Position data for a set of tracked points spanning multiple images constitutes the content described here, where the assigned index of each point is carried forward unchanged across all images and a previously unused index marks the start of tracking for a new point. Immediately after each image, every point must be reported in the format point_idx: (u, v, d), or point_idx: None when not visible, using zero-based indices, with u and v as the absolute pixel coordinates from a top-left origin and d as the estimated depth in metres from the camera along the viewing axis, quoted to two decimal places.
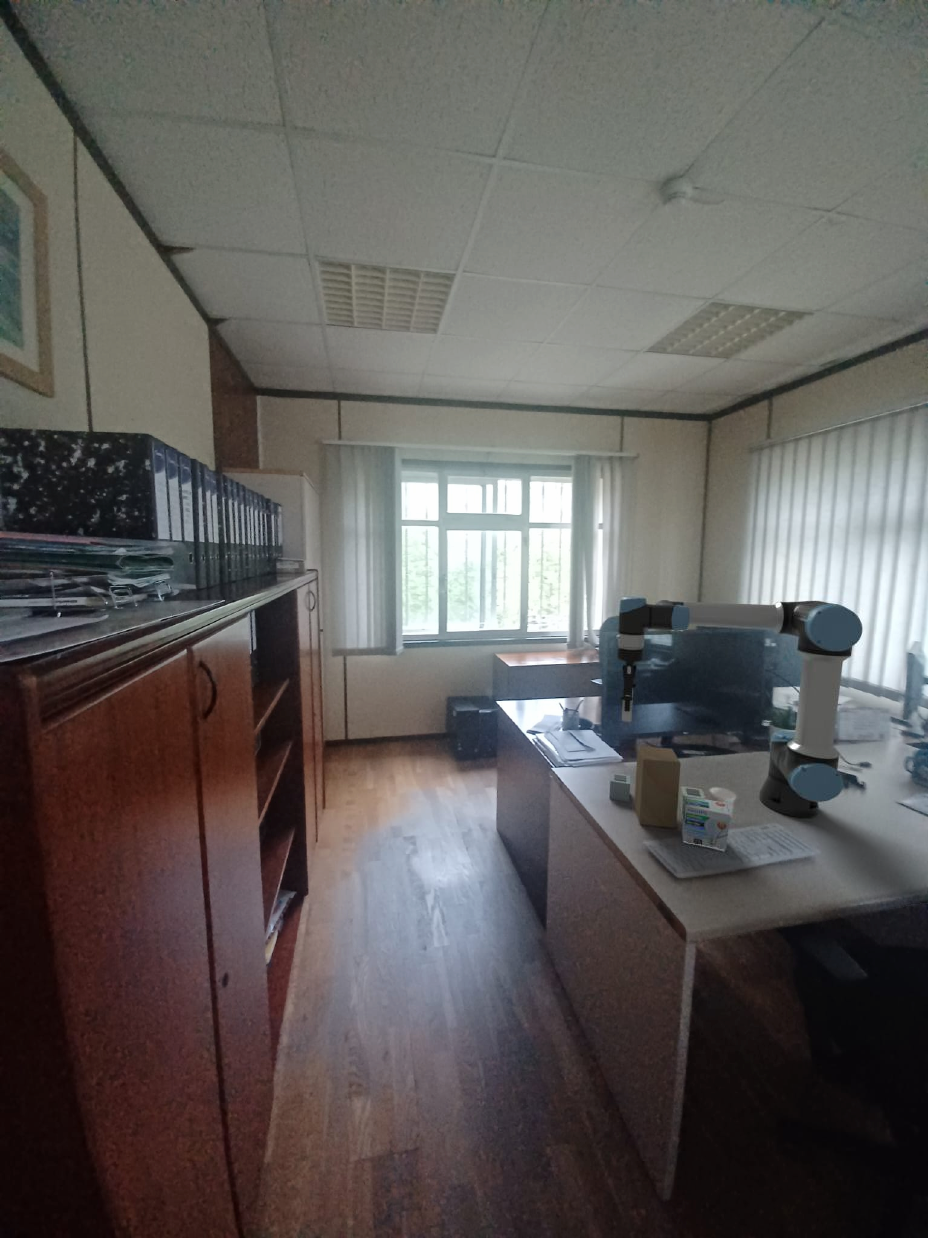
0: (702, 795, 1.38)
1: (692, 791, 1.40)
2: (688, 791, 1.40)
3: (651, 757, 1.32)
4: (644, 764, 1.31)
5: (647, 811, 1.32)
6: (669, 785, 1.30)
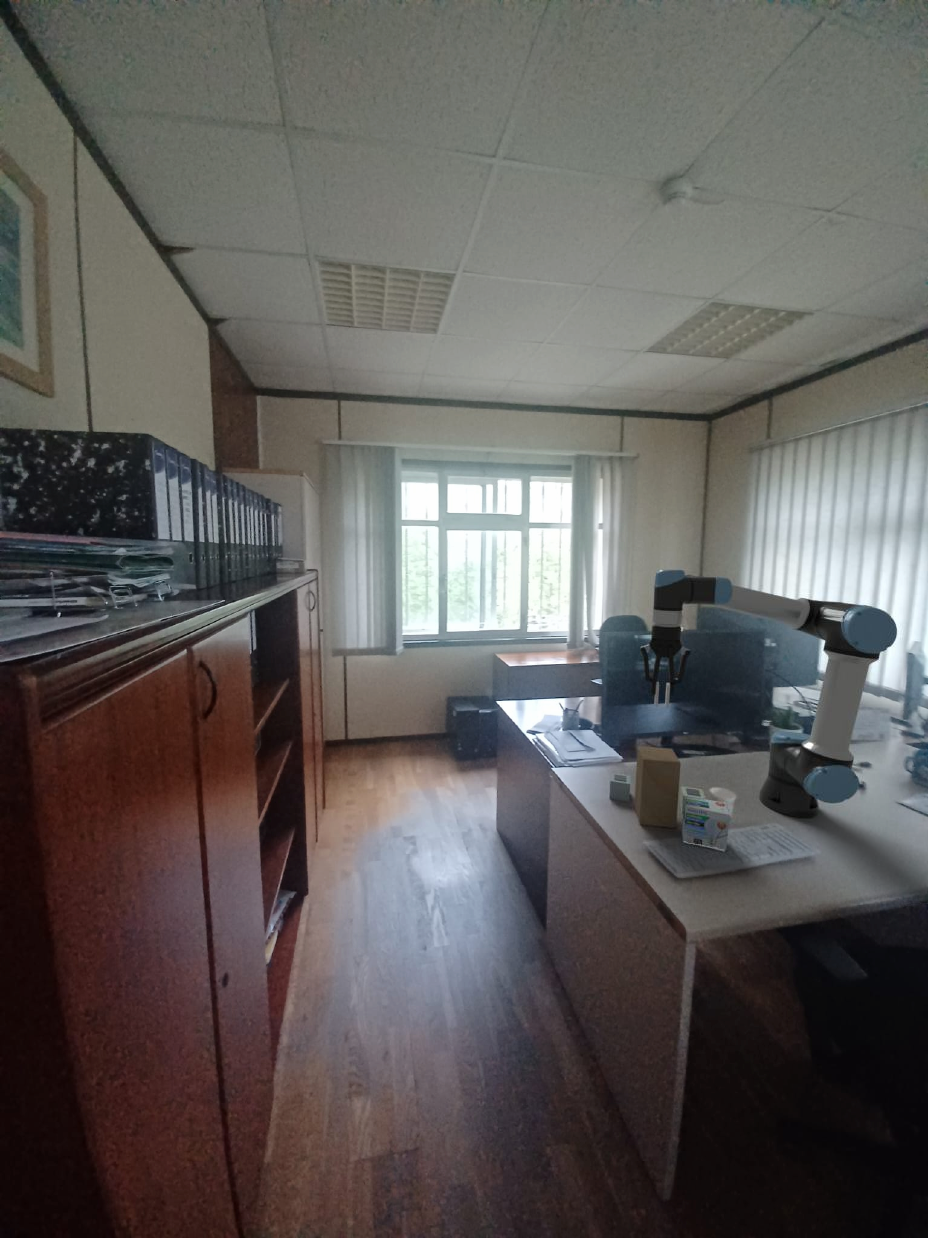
0: (702, 795, 1.38)
1: (692, 791, 1.40)
2: (688, 791, 1.40)
3: (651, 756, 1.32)
4: (644, 764, 1.31)
5: (647, 811, 1.32)
6: (669, 785, 1.30)
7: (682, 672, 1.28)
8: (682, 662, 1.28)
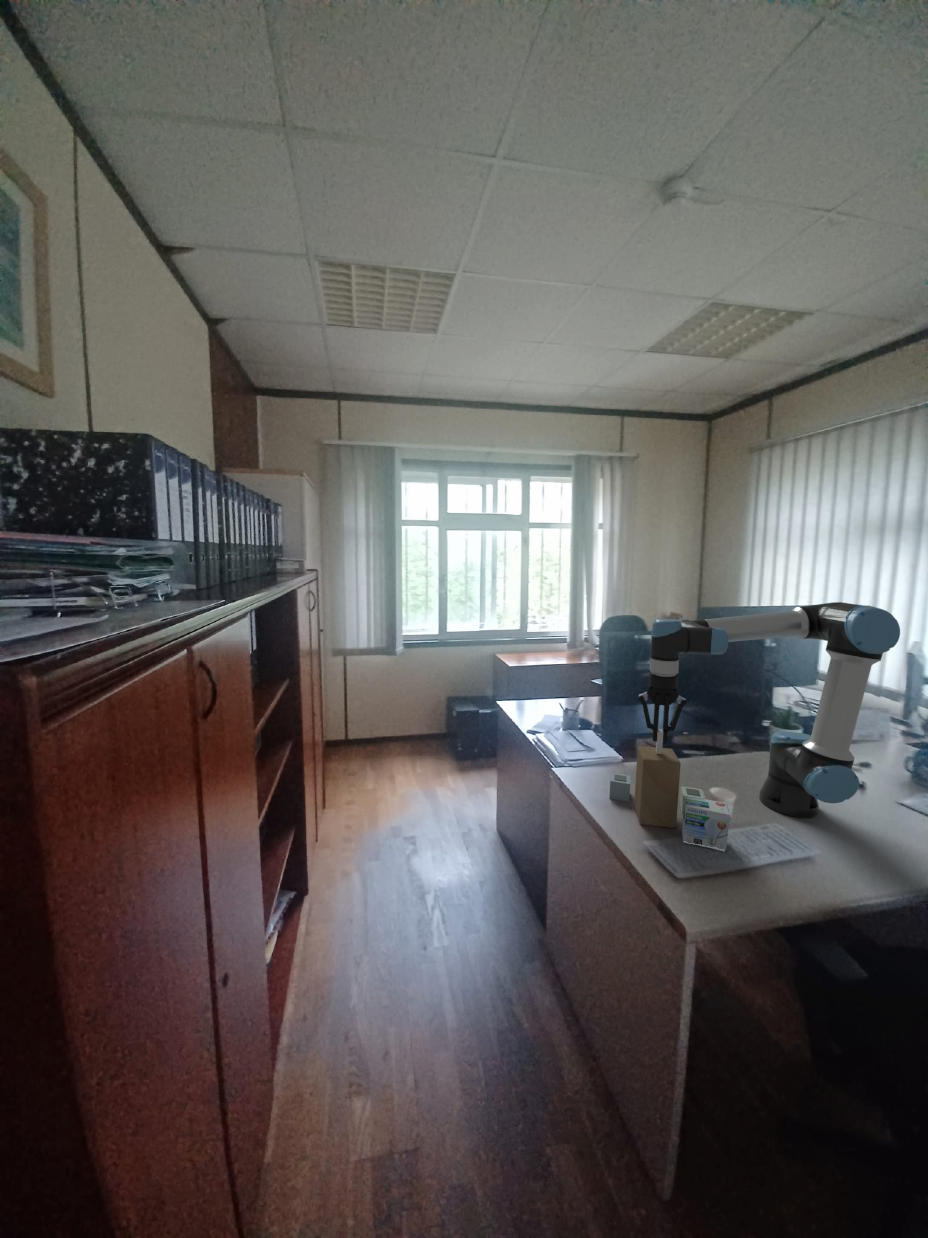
0: (702, 795, 1.38)
1: (692, 791, 1.40)
2: (688, 791, 1.40)
3: (651, 757, 1.32)
4: (644, 764, 1.31)
5: (647, 811, 1.32)
6: (669, 785, 1.30)
7: (676, 720, 1.30)
8: (677, 711, 1.30)
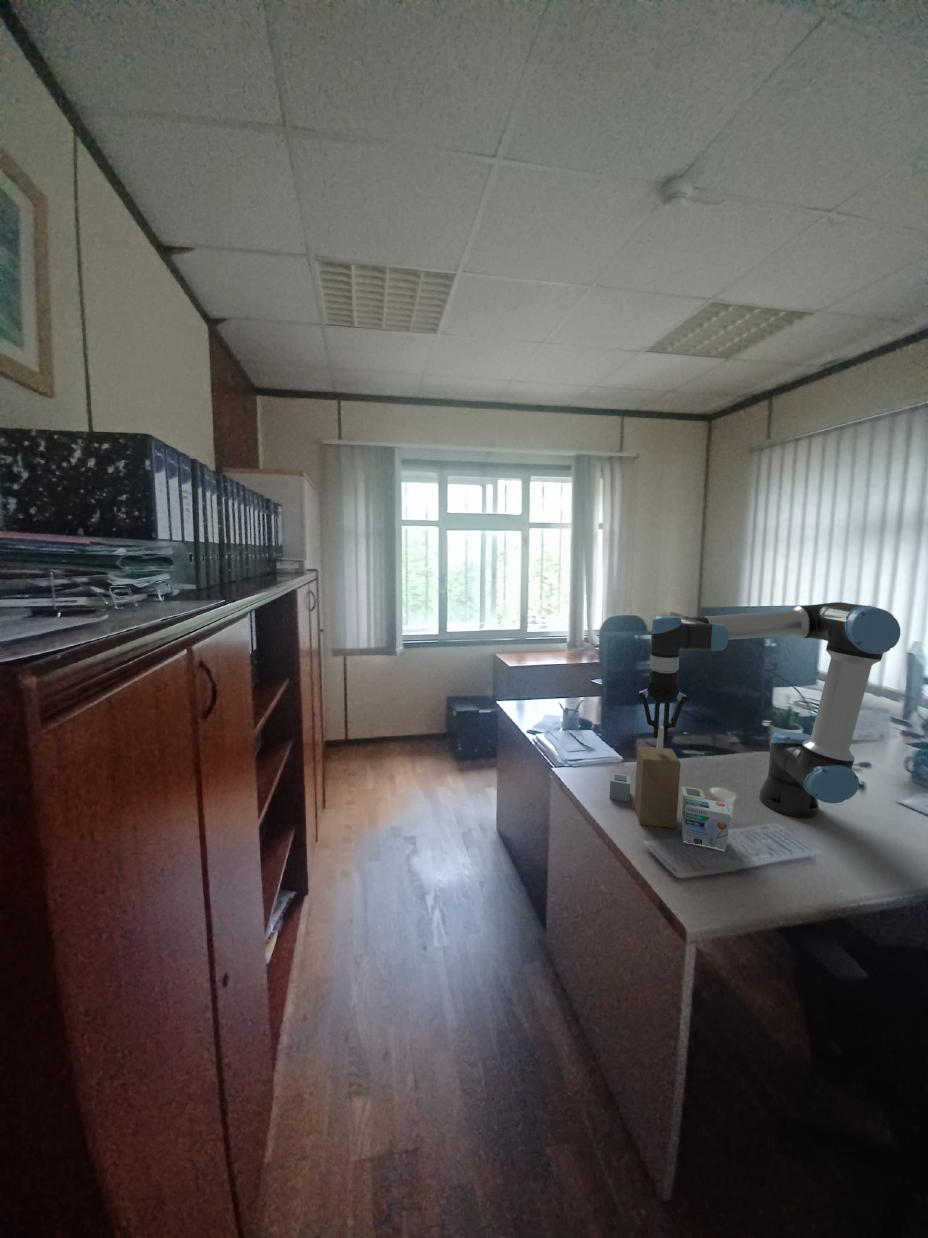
0: (702, 795, 1.38)
1: (692, 791, 1.40)
2: (688, 791, 1.40)
3: (651, 756, 1.32)
4: (644, 764, 1.31)
5: (647, 811, 1.32)
6: (669, 785, 1.30)
7: (676, 717, 1.30)
8: (678, 707, 1.30)
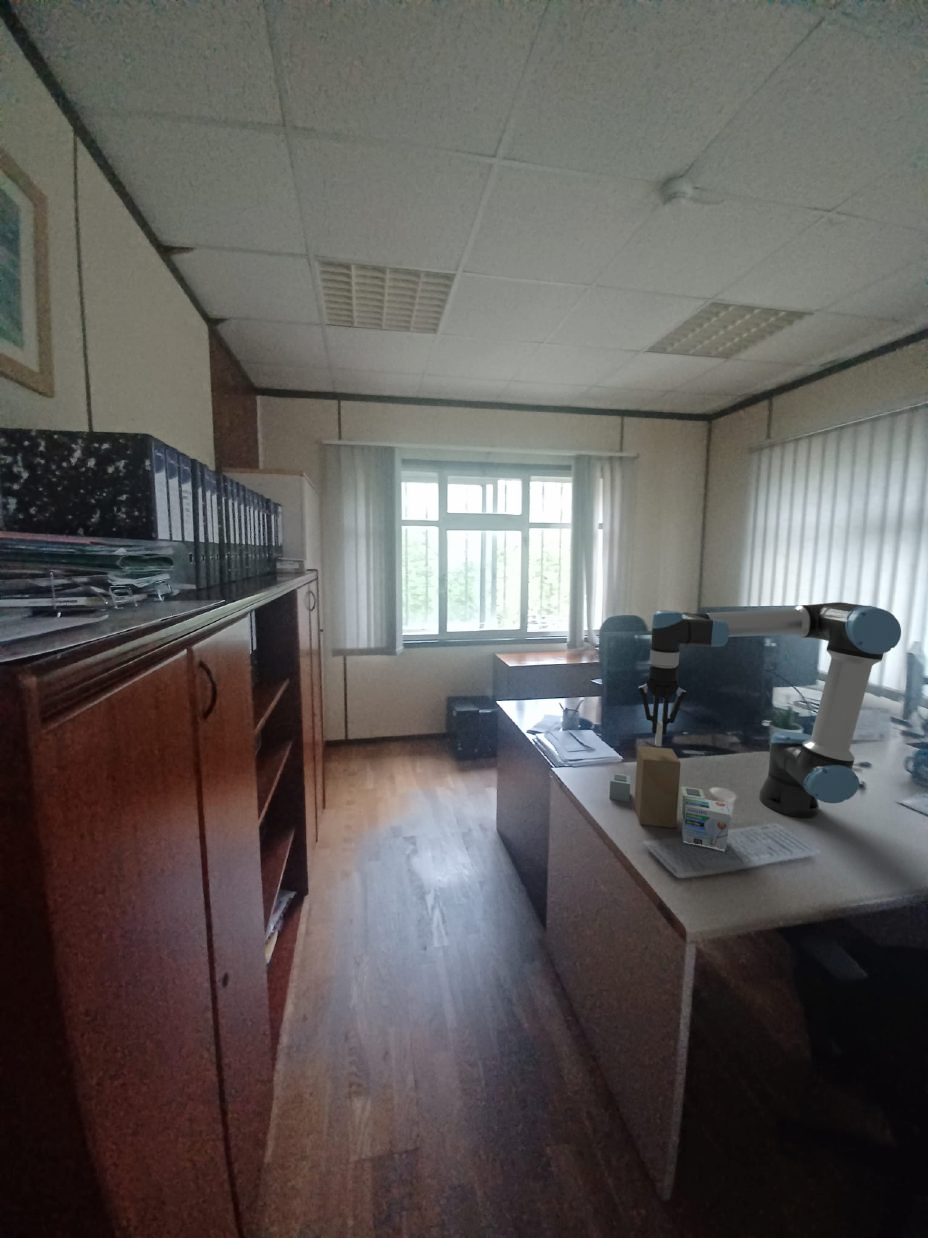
0: (702, 795, 1.38)
1: (692, 791, 1.40)
2: (688, 791, 1.40)
3: (651, 757, 1.32)
4: (644, 764, 1.31)
5: (647, 811, 1.32)
6: (669, 785, 1.30)
7: (676, 712, 1.30)
8: (677, 703, 1.30)
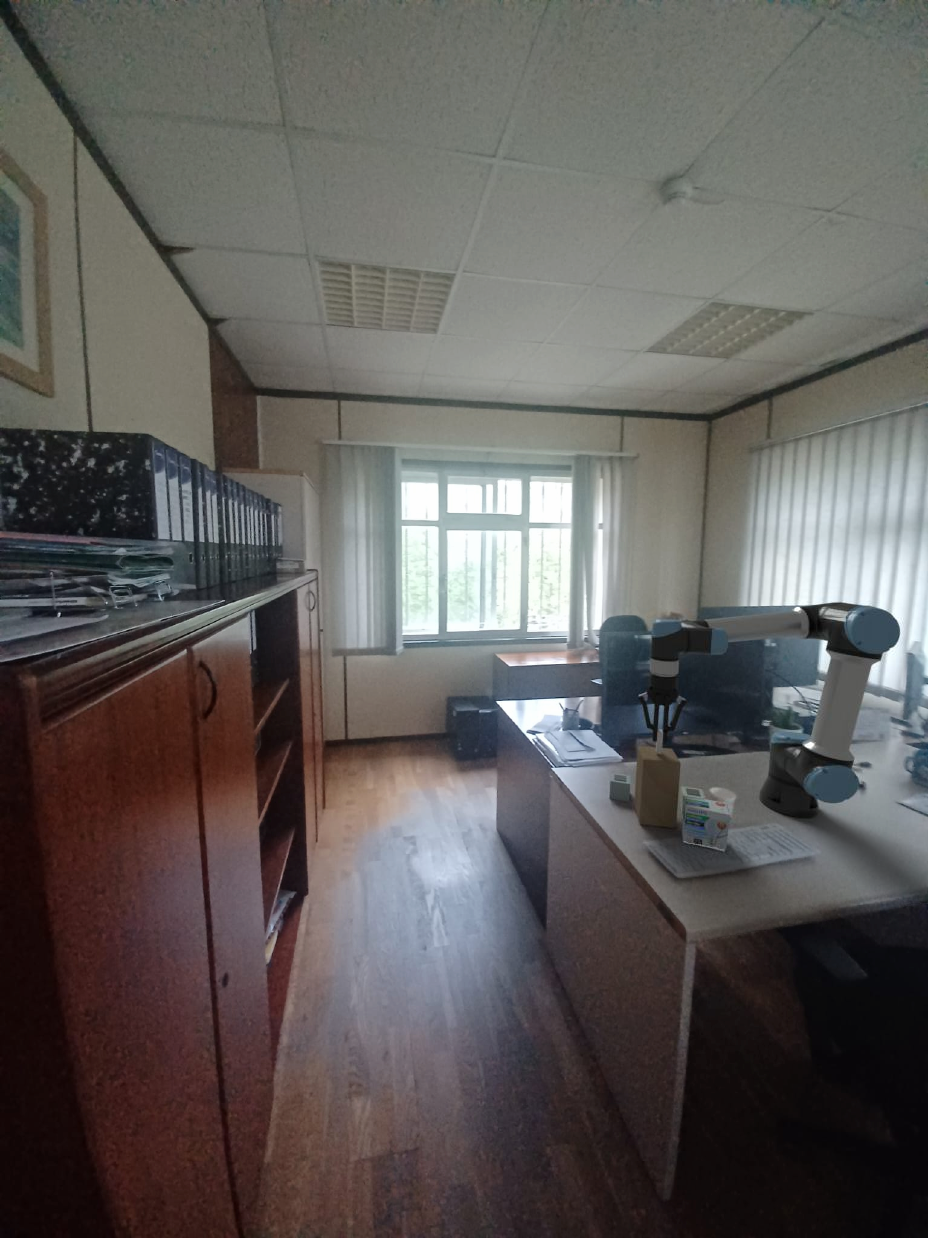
0: (702, 795, 1.38)
1: (692, 791, 1.40)
2: (688, 791, 1.40)
3: (651, 756, 1.32)
4: (644, 764, 1.31)
5: (647, 811, 1.32)
6: (669, 785, 1.30)
7: (676, 720, 1.30)
8: (677, 711, 1.30)
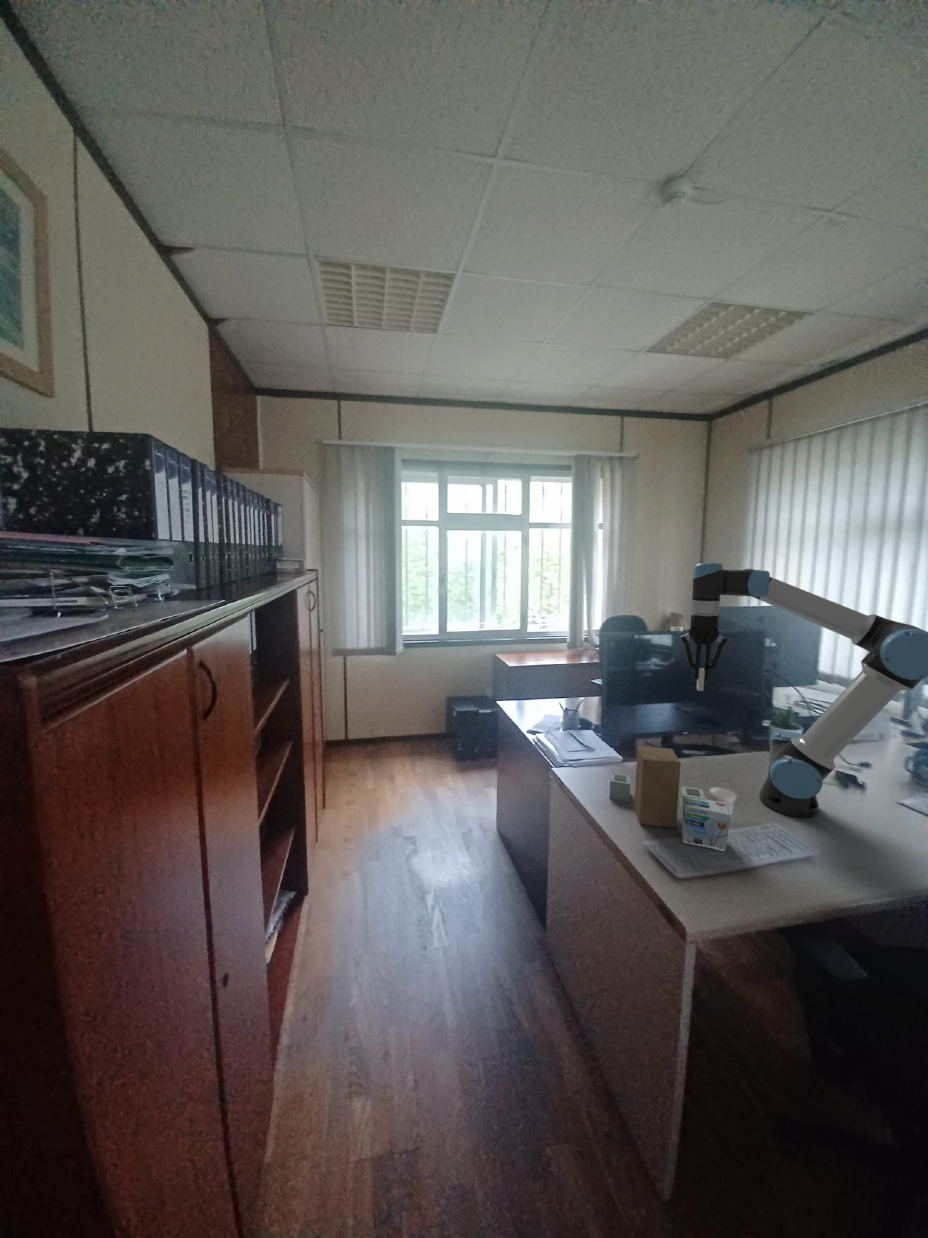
0: (702, 795, 1.38)
1: (692, 791, 1.40)
2: (688, 791, 1.40)
3: (651, 756, 1.32)
4: (644, 764, 1.31)
5: (647, 811, 1.32)
6: (669, 785, 1.30)
7: (717, 658, 1.39)
8: (718, 649, 1.39)
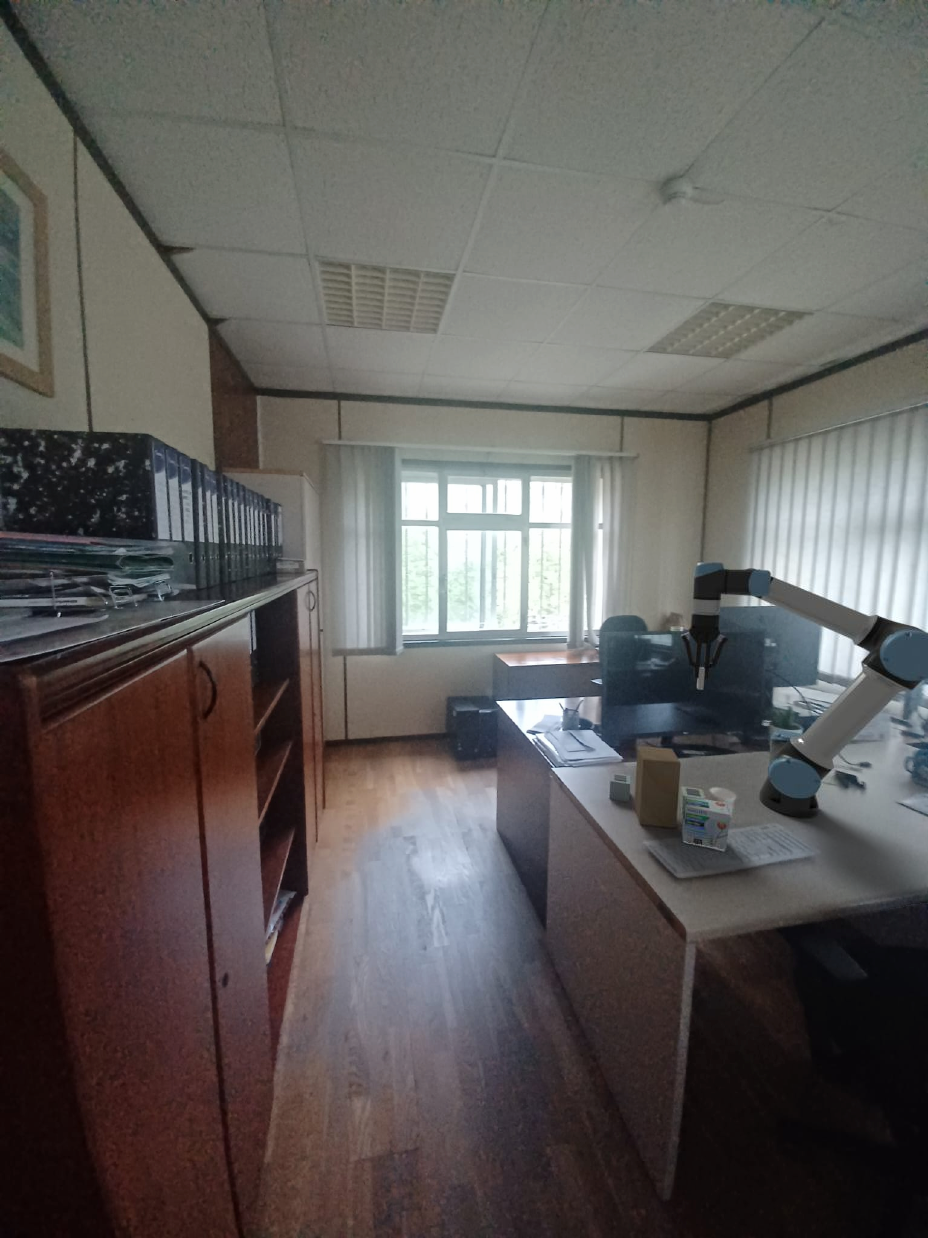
0: (702, 795, 1.38)
1: (692, 791, 1.40)
2: (688, 791, 1.40)
3: (651, 756, 1.32)
4: (644, 764, 1.31)
5: (647, 811, 1.32)
6: (669, 785, 1.30)
7: (717, 657, 1.39)
8: (718, 648, 1.39)
